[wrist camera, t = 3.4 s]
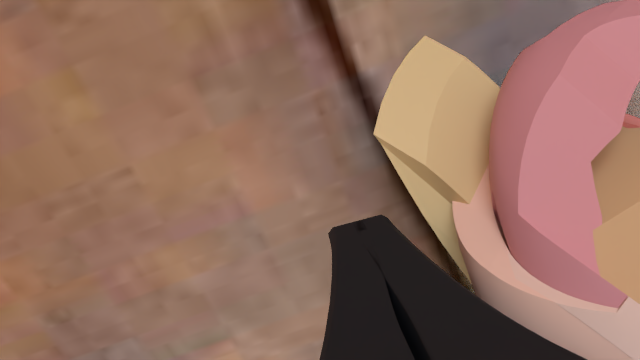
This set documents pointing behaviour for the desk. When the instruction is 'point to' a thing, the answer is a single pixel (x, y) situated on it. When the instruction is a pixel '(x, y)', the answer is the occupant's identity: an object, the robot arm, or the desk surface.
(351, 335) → the robot arm
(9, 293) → the desk surface
